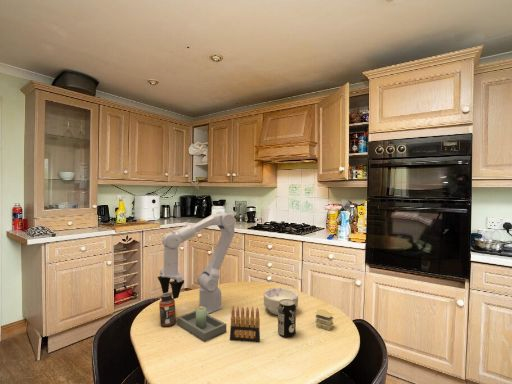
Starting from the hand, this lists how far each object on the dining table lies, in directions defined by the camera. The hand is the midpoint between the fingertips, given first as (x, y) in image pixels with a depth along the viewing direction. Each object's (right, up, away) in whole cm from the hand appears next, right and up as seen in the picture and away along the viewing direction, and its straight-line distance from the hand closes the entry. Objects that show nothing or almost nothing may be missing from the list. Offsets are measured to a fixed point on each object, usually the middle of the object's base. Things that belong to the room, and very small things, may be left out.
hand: (170, 295), depth 117 cm
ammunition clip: (+31, -10, -16) cm, 37 cm away
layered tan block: (+62, -11, -5) cm, 63 cm away
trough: (+14, -10, -8) cm, 19 cm away
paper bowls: (+46, -10, +8) cm, 48 cm away
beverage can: (+47, -11, -11) cm, 49 cm away
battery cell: (+14, -9, -8) cm, 19 cm away
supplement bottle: (+1, -10, -5) cm, 11 cm away
